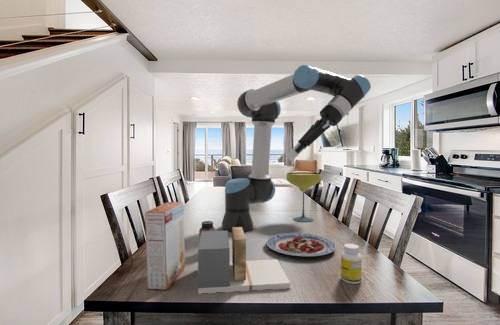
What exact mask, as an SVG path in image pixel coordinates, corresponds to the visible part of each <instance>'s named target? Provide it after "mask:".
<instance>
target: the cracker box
mask: <svg viewBox="0 0 500 325" xmlns="http://www.w3.org/2000/svg"><path fill="white" fill-rule="evenodd" d="M184 210H185V209H184V202H181V201H180V202H179V201H177V202H175V201H167V202H164V203H163V204H160V205H157V206H156V207H154V208H151V209H150V210H147V211H145V213H144V219H145V221H144V222H145V247H146V249H145V250H146V277H147V278H146V282H147V283H146V284H147V290H155V289H159V290H160V291H168V290H169V289H170V287H171V285H173V284H174V282H175V281H176V279H177V278H178V277H179V276H180V275H181V273H182V272H183V271H184V269H185V268H186V264H185V263H186V262H185V261H186V260H185V220H184V219H185V217H184V216H185V215H184ZM159 290H158V291H159Z"/></svg>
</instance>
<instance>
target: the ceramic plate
mask: <svg viewBox="0 0 500 325" xmlns="http://www.w3.org/2000/svg"><path fill="white" fill-rule="evenodd" d="M266 245H267V247H268V248H269V249H270V250H273V251H275V252H277V253H281V254H284V255H287V256H292V257H293V256H294V257H303V258H304V257H319V256H324V255H325V256H326V255H329V254H331V253H332V252H335V250H336V248H337V245H336V243H335V242H334V241H333V240H331V239H329V238H327V237H324V236H321V235H318V234H313V233H306V232H285V233H277V234H276V235H272V236H271V237H269V238H268V239H266Z"/></svg>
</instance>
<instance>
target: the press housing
mask: <svg viewBox="0 0 500 325" xmlns="http://www.w3.org/2000/svg"><path fill="white" fill-rule="evenodd" d="M230 248H231V247H230V240H229V231H225V230H216V231H202V233H201V237H200V242H198V248H197V279H198V280H197V284H198V286H197V287H198V288H197V290H198V295H202V294H201V293H208V294H217V293H216V292H225V293H234V292H233V291H241V292H250V291H249V290H257V291H264V290H263V289H273V290H287V288H290V289H291V282H290V280H289V278H288V276H287V274H286V273H285V271H284V269H283V267H282V266H281V264H280V262H279V260H278V259H260V260H258V259H257V260H246V280H237V281H235V279H234V271H233V264H232V261H231V260H230V257H231V256H230V254H231V250H230ZM230 291H232V292H230Z"/></svg>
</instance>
